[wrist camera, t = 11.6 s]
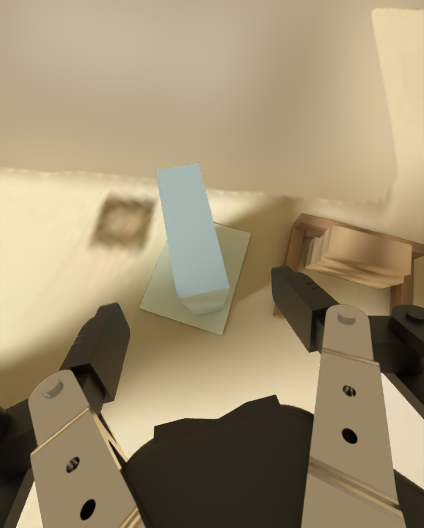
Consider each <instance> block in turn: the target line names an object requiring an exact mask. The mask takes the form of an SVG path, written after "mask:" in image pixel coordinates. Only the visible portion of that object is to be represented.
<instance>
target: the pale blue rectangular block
mask: <svg viewBox="0 0 424 528" xmlns="http://www.w3.org/2000/svg"><path fill="white" fill-rule="evenodd" d="M156 175H157V181H158V187H159V193H160V198H161V204H162V210H163V216H164V222H165V227H166V233H167V239H168V245H169V251H170V257H171V262H172V268H173V274H174V280H175V286H176V292H177V297H178V299H179V300H180V301H181V302H182V303H183V304H184V305H185V306H186V307H187V308H188V309H189V310H190V311H191V312H192V313H193V314H194V315H196V316H199V315H204V314H208V313H212V312H217V311H221V310H222V309H223V306H224V303H225V300H226V297H227V294H228V291H229V288H230V287H229V283H228V279H227V275H226V271H225V267H224V263H223V259H222V255H221V251H220V247H219V243H218V239H217V235H216V231H215V227H214V223H213V218H212V214H211V210H210V206H209V202H208V198H207V194H206V190H205V186H204V182H203V178H202V174H201V170H200V166H199V163H194V164H188V165H183V166H178V167H172V168H167V169H162V170H156Z"/></svg>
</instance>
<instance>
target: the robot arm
mask: <svg viewBox="0 0 424 528" xmlns="http://www.w3.org/2000/svg"><path fill="white" fill-rule="evenodd" d="M271 276H272V295H273V299H274V302H275V304H276V305H277V307H278V308H279V310H280V311H281V313H282V314H283V315H284V317H285V318H286V320H287V321H288V323H289V324H290V326H291V327H292V329H293V330H294V331H295V333H296V334H297V336H298V337H299V339H300V340H301V342H302V343H303V345H304V346H305V348H306V349H307V350H308V352H309V353H310V352H314V351H319V352H320V354H321V362H320V370H319V379H318V388H317V396H316V405H315V414H312V413H310V412H309V411H306V410H304V409H301V408H298V407H295V406H290V405H282V404H280V403H279V401H278V399H277V396H276V395H272V396H268V397H264V398H261V399H257V400H253V401H249V402H246V403H244V404H243V405H241V406H239V407H238V408H236V409H234V410H233V411H231V412H229V413H227V414H226V415H224V416H222V417H221V418H218V419H193V418H184V419H180V420H177V421H173V422H169V423H165V424H161V425H157V426H154V438H153V439H151V440H150V441H148V442H147V443H146V444H144V445H143V446H142V447H141V448H140V449H138V450H137V451H136V452H135V453H134V454H133V455H132V456H131V458H130V459H129V460H128V458H127V457H126V455H125V454H124V452H123V450H122V449H121V447H120V445H119V443H118V442H117V440H116V438H115V436H114V434H113V432H112V431H111V429H110V427H109V425H108V423H107V421H106V420H105V418H104V416H103V414H102V413H101V409H102V405H103V404H104V403H108V402H112V401H114V399H115V395H116V391H117V387H118V383H119V379H120V375H121V371H122V367H123V363H124V359H125V355H126V350H127V346H128V342H129V338H130V329H129V326H128V323H127V321H126V319H125V317H124V314H123V312H122V310H121V308H120V306H119V304H118V303H112V304H107V305H103V306H100V307H99V309H98V311H97V313H96V315H95V317H94V318H91V319H90V320H89V321H88V322H87V323H86V324H85V325H84V326H83V327H82V329H81V331H80V332H79V334H78V337H77V338H76V340H75V342H74V345H72V347H71V349H70V351H69V353H68V355H67V357H66V358H65V360H64V362H63V364H62V366H61V368H60V370H59V371H58V372H55V373H53V374H51V375H50V376H48V377H47V378H45V379H44V380H43V381H41V382H40V383H39V384H38V385H37V386H36V387H35V389H34V390H33V391H32V393H31V395H30V397H29V398H28V399H26V400H24V401H22V402H20V403H18V404H16V405H14V406H12V407H10V408H8V409H6V410H4V409H3V408H2V407H1V406H0V528H16V526H17V523H18V520H19V518H20V515H21V513H22V510H23V508H24V505H25V503H26V500H27V497H28V495H29V492H30V490H31V487H32V485H33V482H34V480H35V486H36V491H37V496H38V502H39V507H40V513H41V518H42V523H43V528H424V490H423V489H422V488H421V487H419V486H418V485H416V484H415V483H413V482H412V481H410V480H409V479H408V478H406V477H405V476H403V475H402V474H400V473H399V472H397V471H396V470H395V469H393V464H392V456H391V448H390V441H389V433H388V426H387V418H386V410H385V403H384V395H383V387H382V380H381V373H383V374H384V375H385V376H386V377H387V378H388V379H389V380H390V381H391V383H392V384H393V385H394V386H395V387H396V388H397V389H398V391H399V392H400V393H401V394H402V395H403V396H404V397H405V398H406V400H407V401H408V402H409V403H410V404H411V405H412V406H413V407H414V409H415V410H416V411H417V412H418V413H419V414H420V415H421V417H422V418H423V419H424V308H422V307H419V306H415V305H398V306H395V307H394V308H393V309H392V310H391V314H390V316H367V315H366V314H365V313H364V312H363V311H361V310H360V309H358V308H355V307H353V306H349V305H340V304H339V303H338V302H337V301H336V300H334V299H333V298H332V297H331V296H330V295H329V294H328V293H327V292H325V291H324V290H323V289H322V288H320V286H319V285H318V284H317V283H315V282H314V281H313V280H312V279H311V278H310V277H309V276H307V275H305V274H302V273H300V272H297V273H295V272H294V271H293V270H292V269H291V268H290V267H289V266H287V265H285V266H280V267H276V268H272V271H271Z"/></svg>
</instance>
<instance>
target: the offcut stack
mask: <svg viewBox="0 0 424 528" xmlns="http://www.w3.org/2000/svg"><path fill="white" fill-rule="evenodd" d="M411 254H412V245H409V244H405V243H402V242H398V241H394V240H390V239H386V238H382V237H379V236H375V235H371V234H367V233H363V232H359V231H356V230H352V229H348V228H344V227H340V226H336V225H332V226H330V227H329V228H328V229H327V230H326V231H325V233H324V235H322V236H321V237H320V238H319V237H315V238H314V239H313V240H312V241H310V243H309V248H308V254H307V259H306V264H305V268H307V269H310V270H314V271H317V272H321V273H325V274H328V275H332V276H335V277H339V278H342V279H346V280H349V281H353V282H356V283H360V284H363V285H367V286H370V287H374V288H377V289H383V288H386V287H390V286H394V285H398V284H401V283H404V276H406V275H410V274H411Z"/></svg>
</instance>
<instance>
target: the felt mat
mask: <svg viewBox="0 0 424 528" xmlns="http://www.w3.org/2000/svg"><path fill="white" fill-rule="evenodd" d="M214 227H215V231H216V235H217V239H218V243H219V247H220V251H221V255H222V259H223V263H224V267H225V271H226V275H227V279H228V283H229V287H230V288H229V291H228V294H227V297H226V300H225V303H224V306H223V309H222V310H221V311H217V312H212V313H208V314H204V315H199V316H196V315H194V314H193V313H192V312H191V311H190V310H189V309H188V308H187V307H186V306H185V305H184V304H183V303H182V302H181V301H180V300H179V299H178V297H177V292H176V286H175V280H174V274H173V268H172V262H171V257H170V251H169V245H168V239H167V241H166V243H165V245H164V248H163V250H162V253H161V255H160V258H159V260H158V262H157V265H156V267H155V270H154V272H153V275H152V277H151V280H150V282H149V284H148V287H147V289H146V292H145V294H144V297H143V299H142V301H141V304H140V306H139V308H140V309H143V310H146V311H149V312H152V313H155V314H158V315H161V316H164V317H167V318H170V319H173V320H176V321H179V322H182V323H185V324H188V325H191V326H194V327H197V328H200V329H203V330H206V331H209V332H212V333H215V334H218V335H221V336H222V334H223V331H224V327H225V324H226V320H227V317H228V313H229V310H230V306H231V303H232V299H233V296H234V292H235V289H236V285H237V282H238V278H239V274H240V271H241V267H242V264H243V260H244V257H245V253H246V250H247V246H248V243H249V239H250V236H251V233H248V232H244V231H241V230H237V229H234V228H230V227H226V226H223V225H219V224H215V223H214Z"/></svg>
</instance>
